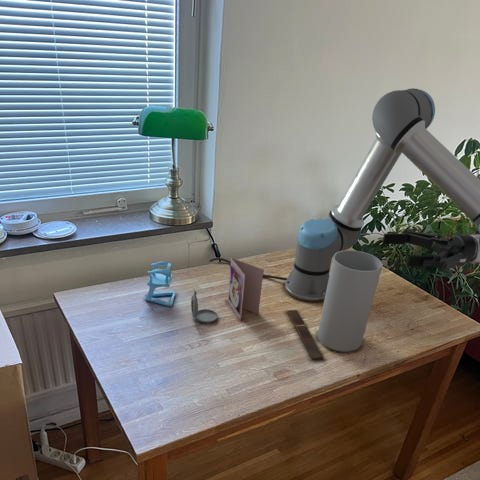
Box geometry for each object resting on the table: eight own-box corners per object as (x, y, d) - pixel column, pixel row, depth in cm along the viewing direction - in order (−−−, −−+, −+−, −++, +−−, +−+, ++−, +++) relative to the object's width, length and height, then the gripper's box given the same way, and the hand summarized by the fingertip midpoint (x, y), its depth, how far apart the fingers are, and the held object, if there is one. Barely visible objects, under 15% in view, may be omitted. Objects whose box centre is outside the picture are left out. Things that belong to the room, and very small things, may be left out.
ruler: (287, 312, 145) (287, 310, 144) (296, 312, 145) (296, 309, 145) (312, 360, 125) (312, 357, 125) (322, 359, 126) (323, 357, 125)
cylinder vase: (309, 331, 137) (324, 252, 124) (345, 325, 141) (364, 248, 128) (331, 356, 127) (350, 273, 114) (369, 349, 132) (392, 268, 118)
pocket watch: (221, 318, 139) (224, 289, 133) (200, 329, 133) (202, 298, 128) (202, 307, 143) (204, 278, 138) (181, 317, 138) (182, 287, 132)
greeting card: (225, 301, 147) (228, 257, 139) (246, 298, 150) (251, 255, 142) (237, 320, 139) (242, 275, 130) (260, 317, 141) (266, 272, 133)
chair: (149, 291, 149) (148, 257, 142) (175, 294, 149) (176, 259, 142) (144, 304, 142) (143, 268, 136) (171, 306, 142) (171, 271, 136)
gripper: (492, 283, 118) (415, 285, 113) (438, 242, 138) (371, 243, 134) (503, 256, 114) (424, 257, 109) (446, 218, 134) (378, 217, 130)
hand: (395, 249), depth 121 cm, fingers open, 13 cm apart
